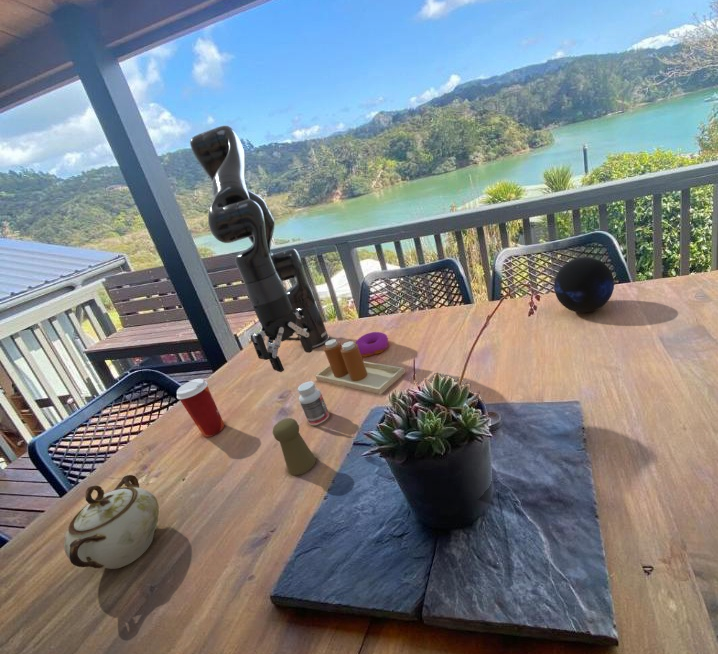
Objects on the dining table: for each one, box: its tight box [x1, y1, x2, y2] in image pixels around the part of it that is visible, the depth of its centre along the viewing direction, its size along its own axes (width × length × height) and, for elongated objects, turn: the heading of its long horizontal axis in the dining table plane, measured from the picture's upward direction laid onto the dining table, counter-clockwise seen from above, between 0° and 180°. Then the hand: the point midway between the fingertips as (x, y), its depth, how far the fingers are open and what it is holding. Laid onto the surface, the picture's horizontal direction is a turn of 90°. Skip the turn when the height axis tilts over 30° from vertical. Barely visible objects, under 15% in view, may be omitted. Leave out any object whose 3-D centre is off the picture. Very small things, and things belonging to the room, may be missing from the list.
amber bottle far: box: [323, 338, 348, 378], centre depth 122 cm, size 5×5×10 cm
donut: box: [355, 331, 389, 358], centre depth 133 cm, size 10×10×5 cm
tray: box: [314, 360, 406, 395], centre depth 119 cm, size 25×10×2 cm, turn 52°
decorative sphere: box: [553, 256, 615, 314], centre depth 118 cm, size 15×15×15 cm
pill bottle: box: [297, 380, 330, 426], centre depth 104 cm, size 5×5×10 cm
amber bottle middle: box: [341, 340, 367, 381], centre depth 117 cm, size 5×5×10 cm
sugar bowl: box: [63, 474, 160, 570], centre depth 79 cm, size 20×15×15 cm
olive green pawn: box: [272, 417, 317, 476], centre depth 89 cm, size 6×6×11 cm
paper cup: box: [176, 378, 225, 438], centre depth 112 cm, size 8×8×14 cm
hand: (295, 361), depth 99 cm, fingers open, 8 cm apart
